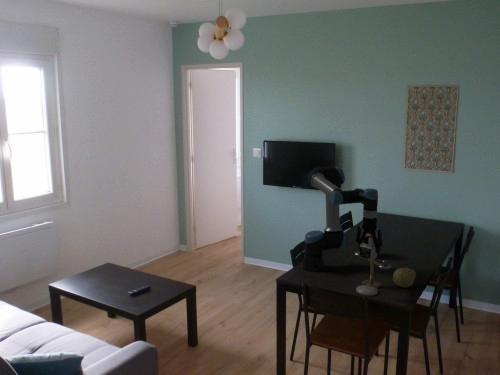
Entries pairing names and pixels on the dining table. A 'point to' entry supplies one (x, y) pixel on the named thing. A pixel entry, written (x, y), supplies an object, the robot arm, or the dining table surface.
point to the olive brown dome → (404, 277)
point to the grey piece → (367, 248)
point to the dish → (367, 290)
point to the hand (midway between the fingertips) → (368, 256)
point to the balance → (371, 282)
